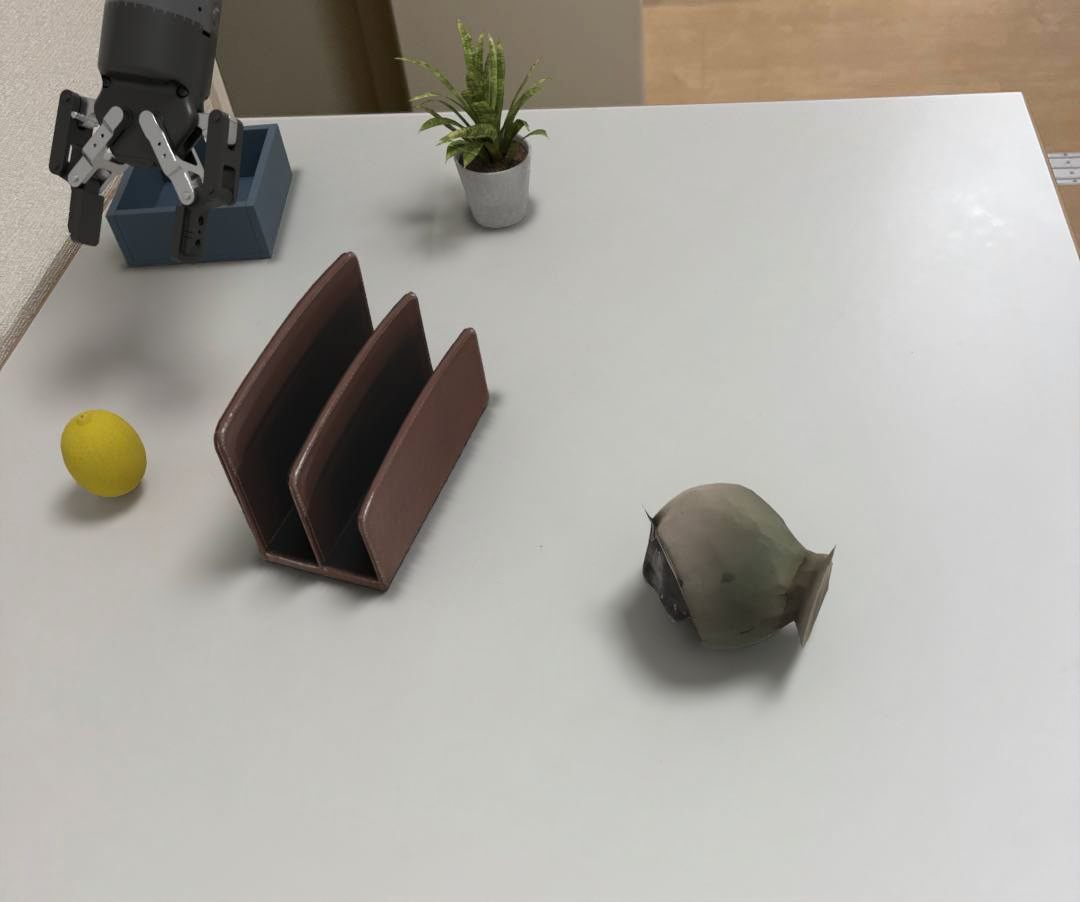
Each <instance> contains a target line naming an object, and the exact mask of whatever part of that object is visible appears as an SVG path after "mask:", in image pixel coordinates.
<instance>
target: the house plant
mask: <svg viewBox="0 0 1080 902" xmlns="http://www.w3.org/2000/svg"><path fill="white" fill-rule="evenodd" d="M456 24H457V28H458V32H459V37H460V41H461V44H462V50H463V56H464V57H463V58H464V62H465V68H466V71H467V72H466V74H465V84H466V88H467V89H464V90H462V91H461V92H460V95H461V96H460V95H459V93H458V92H457V91H456V89H455V88H454V87H453V85H452V84H451V82H450V81H449V80H448V79H447V78H446V76H445V75H444V74H443V73H442V72H441V71H439V69H437V68H436V67H434V66H431V65H429V64H428V63H425V62H423V61H421V60H418V59H413V58H409V57H408V58H407V57H394V59H395V60H401V61H406V62H411V63H413V64H415V65H418V66H421V67H422V68H424V69H426V70H428V71H429V72H430V73H432V74H433V75H435V77H436V78H437V79H438V80H439V81H440V82H441V83H442V84H443V85H444V87H445V88H446V89H447V90H448V91H449V92H450V93H451V94H452V95H453V96H454V97H455V98H456V100H457V101H456V100H455V99H452V98H450V97H447V96H445V95H443V94H440V93H437V92H434V91H433V92H432V91H430V92H425V93H422V94H419V95H417V96H414V97H412V98H411V99H409V100H408V101H407V102H406V103H409V102H413V101H416V100H420V99H423V98H427V97H443V98H446V99H448V100H450V101H452V102H453V103H455V105H457V106H458V107H460V108H461V109H462V110H463V111H464V112H465V113H466V114H467V115H468V117H469V118H470V119H471V120H472V121H473V123H474V124H472V125H471V124H470V123H469V121H467V120H466V118H465V117H464V116H463V115H462V114H461V113H460V112H459V111H458V110H457V109H456V108H455V107H454V106H452V105H451V104H450V103H448V102H446V101H444V100H439V99H428V100H426V101H424V102H422V103H421V104H419V105H418V104H410V105H409V106H410V107H414V108H418V109H420V110H423V111H425V112H426V113H428V114H430V115H431V116H433V117H431V118H429V119H427V120H426V121H425V122H424V123H423V124H422V125H421V126H420V127H419V130H418V132H417V134H419V133H420V132H424V131H427V130H429V129H431V128H434V127H438V126H444V127H445V128H446V129H448V130H450V132H449V133H447V134H446V135H445V136H443V137H442V138H440V139H439V140H438V142H439V143H437V144H435V147H437V146H441V145H444V144H446V143H448V145H447V147H446V154H445V162H444V164H445V165H447V162H448V160H449V159H451V158H453V161H454V164H455V167H456V170H457V173H458V177H459V179H460V181H461V185H462V187H463V190H464V194H465V196H466V199H467V203H468V205H469V208H470V211H471V214H472V217H473V219H474V221H475V222H476V223H477V224H479V225H480V226H483V227H487V228H491V229H501V228H507V227H511V226H513V225H516V224H517V223H519V222H520V221H522V220H523V219H524V218H525V217H526V215H527V213H528V204H529V189H530V179H531V178H530V177H531V166H532V165H531V163H532V145H531V144H530V141H529V140H528V139H527V138H528V137H531V136H535V135H541V136H544V137H545V138H547V140H550V138H549V136H548V134H547V131H546V130H545V129H543V128H538V129H535V130H533V131H531V130H530V126H529V123H528V122H527V120H524V119H521V118H517V119H515V118H516V116H517V115H518V114H519V111H520V110H521V108H522V107H523V105H524V104H525V103H526V102H528V101H529V100H530V99H531V98H532V96H534V95H535V94H537V93H538V92H540V91H542V90H545V88H544V87H540V86H538V85H540V84H542V83H545V82H548V81H551V80H552V81H554V79H553V78H549V77H546V78H541V79H539V80H537V81H535V82H534V83H533V84H531V86H530V87H529V88H528V90H525V92H523V94H521V96H520V97H518V95H519V94H520V92H521V91H522V89H523V88H524V86H525V84H526V83H527V81H528V79H529V78H530V76H531V74H532V73H533V70H534V69H535V67H536V66H537V64H538V62H539V61H540V59H541V57H542V56H543V54H544V51H543V53H542V54H541V55H540V56H539V57H538V59H537V60H536V61H535V62H534V63H533V64H532V66H531V67H530V69H529V71H528V72H527V74H526V75H525V78H524V80H523V81H522V83H521V84H520V86H519V88H518V90H517V91H516V92H515V95H514V97H513V99H512V102H511V104H510V105H509V109H508V111H507V114H506V116H505V119H504V122H503V124H502V115H503V108H504V101H505V100H504V99H505V98H504V96H505V80H506V59H505V53H504V49H503V45H502V42H501V40H500V37H499V36H497V42H496V45H495V42H494V40H493V37H492V36H491V34H490V32H489V31H487V35H488V36H487V39H488V44H489V45H488V52H487V55H486V57H485V62H484V37H485V29H483V30H482V31H481V33H480V35H479V37H478V39H477V41H476V46H475V47H474V42H473V39H472V37H471V36H470V33H469V32H468V30H467V29H466V28H465V25H464V23H463V21H461V20H460V19H459V18H456ZM495 46H496V47H495ZM496 49H497V50H496ZM517 98H518V99H517ZM429 102H439V103H441V104H443V105H444V106H446V107H447V108H448V109H449V110H450V111H452V112H453V113H454V114H455V115H456V117H458V118H459V119H460V120H461V122H463V124H464V125H465V126H464V125H462V124H461V123H460V122H458V121H456V120H454V119H452V118H449V117H443V116H441V115H440V114H439V113H438V112H436V111H435V110H434V109H432V108H430V107H428V106H424V104H426V103H429ZM501 124H502V127H501ZM455 127H458V129H457V128H455ZM523 128H525V129H526V130H527V132H529V133H528V134H526V135H525V136H523V135H521V134H519V132H520V131H521V130H522V129H523ZM530 131H531V132H530ZM460 138H461V139H460ZM456 139H457V140H456Z"/></svg>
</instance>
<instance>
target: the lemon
mask: <svg viewBox="0 0 1080 902" xmlns="http://www.w3.org/2000/svg"><path fill="white" fill-rule="evenodd" d="M60 451H61V456H62V460H63V463H64V466H65V469H66V470H67V471H68V473H69V474H70V476H71V477H72V479H73V480H74V481H75V482H76V483H77V485H79V486H80V487H81V488H82V489H83V490H85V491H87V492H89V493H90V494H92V495H96V496H99V497H102V498H116V497H120V496H123V495H126V494H128V493H130V492H131V491H133V490H135V488H137V486H139V484H140V483H141V481H142V480H143V478H144V477H145V473H146V470H147V466H148V464H147V463H148V461H147V459H148V458H147V452H146V448H145V445H144V443H143V441H142V439H141V437H140V435H139V434H138V432H137V431H136V430H135V428H134V427H133V426H132V424H130V423H129V422H128V421H126V420H125V419H124V417H122V416H120V415H119V414H117V413H115V412H112V411H110V410H105V409H88V410H85V411H82V412H80V413H78V414H76V415H75V416H73V417H72V418H71V419H70V420H69V421H68V422H67V423H66V424H65V427H64V428H63V430H62V433H61V437H60Z"/></svg>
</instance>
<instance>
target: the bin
mask: <svg viewBox="0 0 1080 902" xmlns="http://www.w3.org/2000/svg"><path fill="white" fill-rule="evenodd" d="M243 127H244V129H243V140H242V152H241V163H240V175H239V186H238V198H237V202H236V203H235V204H234V205H233V206H226V205H224V206H220V207H216V208H213V209H212V210H211V211H210V212H209V214H208V219H207V227H206V234H205V241H204V249H203V252H202V254H201V256H200V257H197V261H196V263H208V262H211V263H212V262H226V261H238V260H239V261H240V260H256V259H271V258H272V255H273V252H274V248H275V243H276V240H277V237H278V232H279V227H280V224H281V220H282V218H283V217H282V216H283V213H284V208H285V205H286V201H287V197H288V194H289V190H290V186H291V182H292V178H293V171H292V168H291V164H290V161H289V158H288V154H287V151H286V148H285V144H284V141H283V137H282V132H281V130H280V126H279V123H277V122H276V123H265V124H252V125H250V124H249V125H243ZM194 149H195V151H196V153H197V156H198V158H199V160H200V162H201V164H202V167H203V169H204V165H205V153H206V142H205V140H204V136H202V137H201V138H200V140H199V141H198V142H197V143H196V145H195V146H194ZM176 206H182V202H181V201H180V199H179V197H178V195H177V192H176V190H175V188H174V186H173V184H172V181H171V180H170V178H169V177H168V176H166V174H165V173H164V172H163V171H160V170H158V169H155V168H152V167H149V168H138V167H133V166H131V165H130V166H129V167H128V168H127V170H126V171H125V172H124V173H122V176H121V178H120V180H119V183H118V185H117V187H116V191H115V192H114V194H113V197H112V199H111V201H110V204H109V206H108V209H107V211H106V213H105V215H104V217H105V218H106V221H107V223H108V225H109V228H110V230H111V231H112V234H113V236H114V238H115V240H116V242H117V244H118V245H117V246H118V247H119V249H120V251H121V254H122V256H123V258H124V259H125V262H126V264H127V266H128V268H133V267H149V266H163V265H165V266H166V265H177V264H178V265H179V264H180V265H181V264H183V263H182V262H178V261H174V260H172V259H171V257H170V247H171V240H172V232H173V224H174V217H175V209H176ZM196 263H195V264H196Z"/></svg>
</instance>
